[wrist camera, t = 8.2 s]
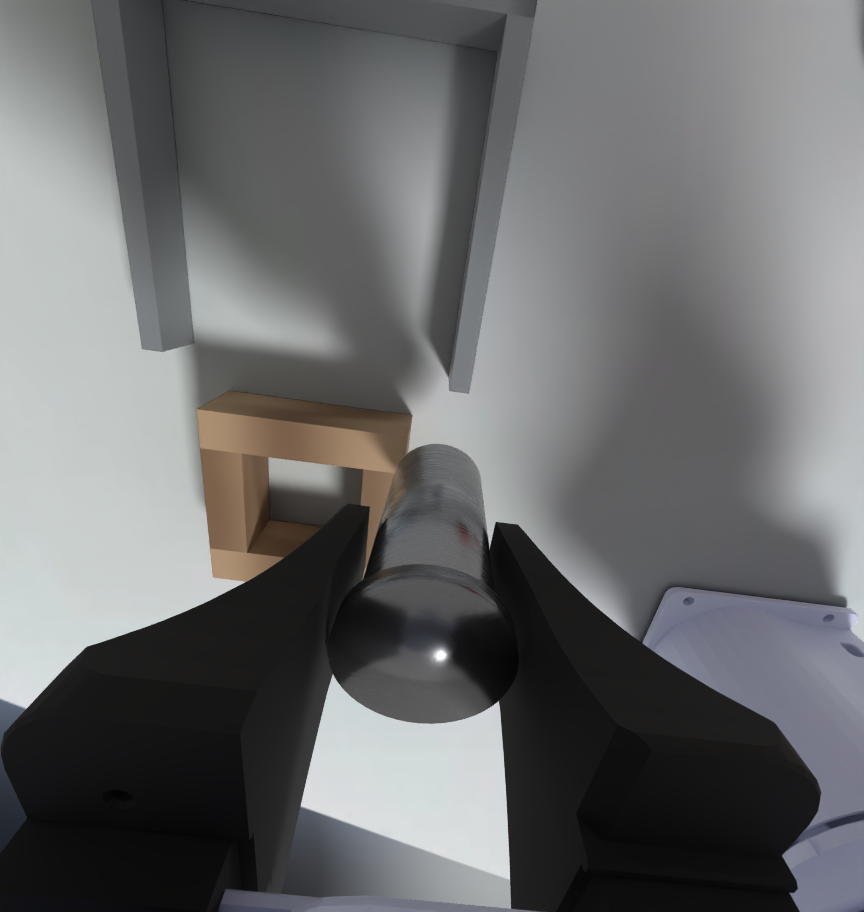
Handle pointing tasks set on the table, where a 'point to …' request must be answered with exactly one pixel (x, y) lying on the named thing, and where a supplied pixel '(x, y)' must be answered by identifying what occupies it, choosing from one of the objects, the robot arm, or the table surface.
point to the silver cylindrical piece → (427, 601)
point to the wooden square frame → (294, 438)
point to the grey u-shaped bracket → (154, 153)
